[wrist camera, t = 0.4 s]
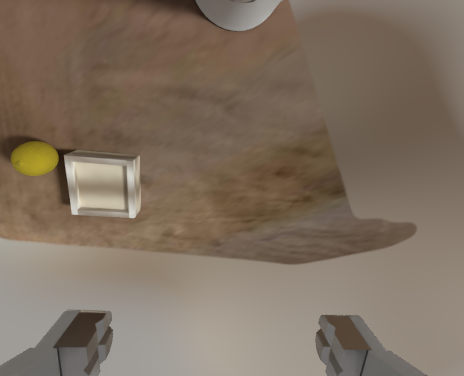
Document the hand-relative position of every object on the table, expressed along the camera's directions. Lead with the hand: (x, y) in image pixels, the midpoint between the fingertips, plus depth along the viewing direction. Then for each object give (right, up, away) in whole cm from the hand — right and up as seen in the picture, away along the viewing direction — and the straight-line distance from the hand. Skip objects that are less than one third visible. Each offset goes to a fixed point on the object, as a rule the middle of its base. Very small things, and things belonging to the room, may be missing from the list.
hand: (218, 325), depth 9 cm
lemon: (-32, +12, +35) cm, 49 cm away
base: (-23, +7, +37) cm, 44 cm away
